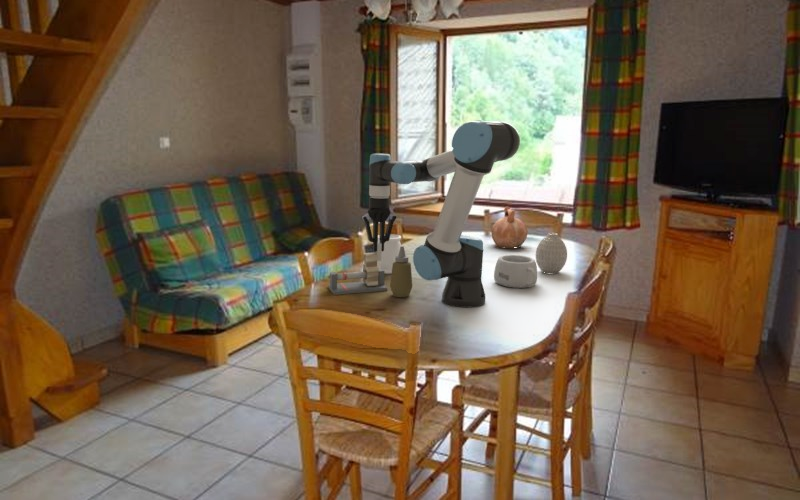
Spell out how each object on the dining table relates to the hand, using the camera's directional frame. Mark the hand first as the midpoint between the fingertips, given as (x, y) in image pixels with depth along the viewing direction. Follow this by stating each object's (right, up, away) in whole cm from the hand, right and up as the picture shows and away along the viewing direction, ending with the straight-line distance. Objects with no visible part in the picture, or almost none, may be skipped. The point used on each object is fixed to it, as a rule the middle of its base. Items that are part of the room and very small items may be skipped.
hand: (378, 259), depth 210 cm
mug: (+54, -10, +9) cm, 56 cm away
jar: (+3, -5, +25) cm, 26 cm away
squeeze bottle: (+8, -13, -7) cm, 17 cm away
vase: (+72, -6, +29) cm, 78 cm away
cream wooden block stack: (-3, -9, +1) cm, 9 cm away
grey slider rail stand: (-8, -11, -1) cm, 13 cm away
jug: (+64, +5, +78) cm, 101 cm away
